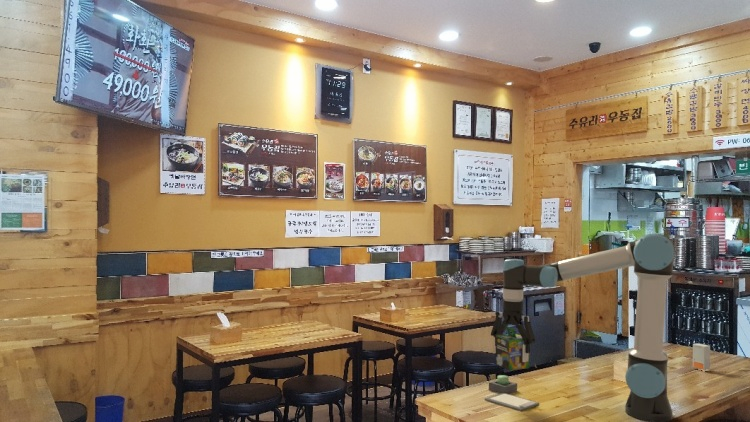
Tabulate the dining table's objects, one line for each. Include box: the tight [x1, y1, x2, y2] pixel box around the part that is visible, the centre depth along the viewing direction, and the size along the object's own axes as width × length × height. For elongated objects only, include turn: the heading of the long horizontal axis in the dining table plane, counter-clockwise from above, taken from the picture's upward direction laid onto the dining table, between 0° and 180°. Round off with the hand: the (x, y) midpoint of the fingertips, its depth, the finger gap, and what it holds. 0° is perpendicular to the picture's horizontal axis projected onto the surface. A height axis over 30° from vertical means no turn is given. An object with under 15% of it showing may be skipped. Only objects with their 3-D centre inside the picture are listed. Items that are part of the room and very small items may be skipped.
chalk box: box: [495, 326, 530, 371], centre depth 209 cm, size 9×9×15 cm
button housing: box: [488, 379, 518, 394], centre depth 223 cm, size 8×8×3 cm
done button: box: [496, 374, 510, 386], centre depth 224 cm, size 4×4×3 cm
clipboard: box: [484, 393, 540, 412], centre depth 208 cm, size 16×12×1 cm
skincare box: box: [692, 342, 711, 370], centre depth 262 cm, size 6×4×12 cm
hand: (512, 358), depth 209 cm, fingers closed on chalk box, 11 cm apart
